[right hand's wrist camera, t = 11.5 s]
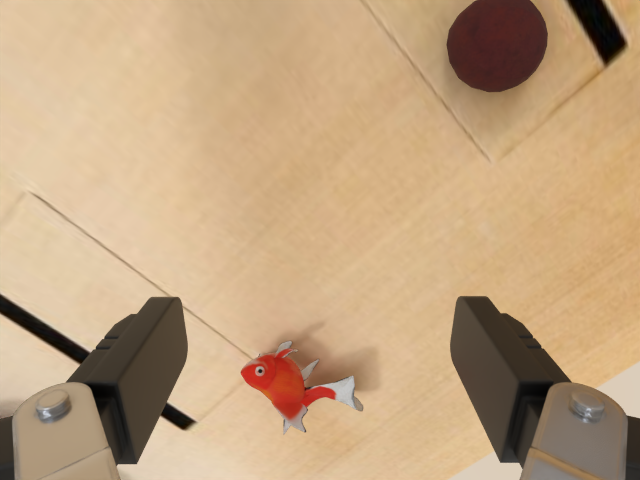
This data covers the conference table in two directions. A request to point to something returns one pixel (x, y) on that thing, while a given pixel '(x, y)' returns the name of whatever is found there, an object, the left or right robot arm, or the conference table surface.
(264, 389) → the fish
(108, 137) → the conference table surface
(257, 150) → the conference table surface
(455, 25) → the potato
